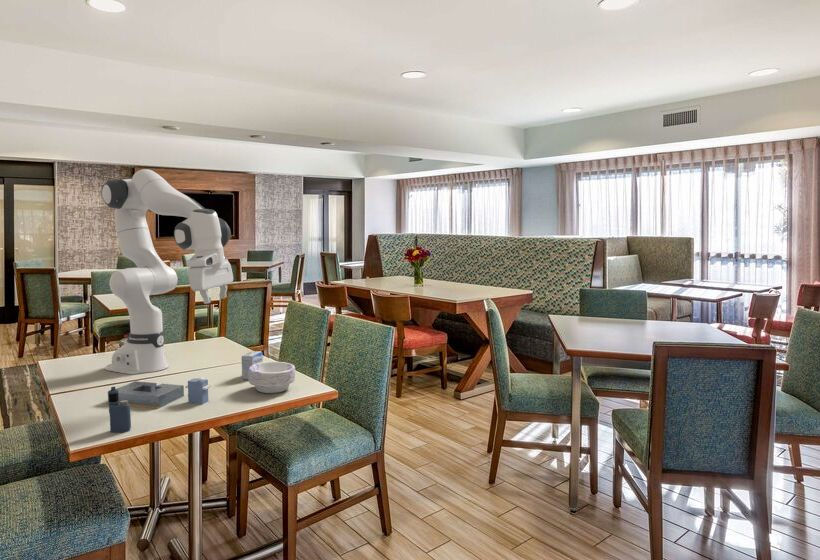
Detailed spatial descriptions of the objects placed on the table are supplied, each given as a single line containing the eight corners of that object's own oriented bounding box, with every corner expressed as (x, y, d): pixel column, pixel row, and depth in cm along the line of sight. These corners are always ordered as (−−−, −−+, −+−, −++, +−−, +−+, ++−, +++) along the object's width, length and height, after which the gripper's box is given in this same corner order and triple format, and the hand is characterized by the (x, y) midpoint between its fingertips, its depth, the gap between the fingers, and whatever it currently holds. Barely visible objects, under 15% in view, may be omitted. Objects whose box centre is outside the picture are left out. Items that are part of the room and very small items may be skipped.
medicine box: (253, 380, 194) (252, 356, 193) (241, 379, 194) (241, 355, 194) (263, 374, 201) (262, 351, 200) (252, 373, 202) (251, 350, 201)
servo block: (185, 402, 168) (184, 378, 168) (191, 399, 171) (190, 375, 171) (205, 404, 167) (205, 380, 166) (211, 401, 170) (210, 377, 169)
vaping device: (112, 429, 146) (110, 385, 145) (132, 428, 147) (130, 385, 146) (108, 432, 144) (105, 388, 142) (128, 432, 144) (126, 388, 143)
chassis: (106, 403, 166) (106, 392, 166) (135, 391, 179) (135, 381, 178) (157, 408, 163) (157, 397, 162) (183, 396, 175) (183, 385, 174)
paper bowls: (303, 390, 182) (303, 367, 181) (260, 399, 172) (259, 375, 172) (283, 380, 194) (283, 358, 193) (241, 388, 184) (241, 365, 183)
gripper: (218, 256, 186) (223, 296, 188) (182, 262, 166) (188, 306, 168) (235, 255, 185) (240, 295, 187) (201, 261, 165) (207, 305, 167)
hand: (215, 300), depth 177 cm, fingers open, 8 cm apart
